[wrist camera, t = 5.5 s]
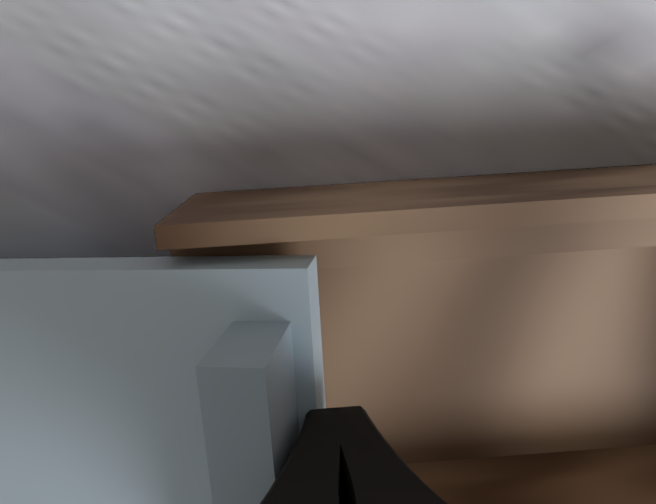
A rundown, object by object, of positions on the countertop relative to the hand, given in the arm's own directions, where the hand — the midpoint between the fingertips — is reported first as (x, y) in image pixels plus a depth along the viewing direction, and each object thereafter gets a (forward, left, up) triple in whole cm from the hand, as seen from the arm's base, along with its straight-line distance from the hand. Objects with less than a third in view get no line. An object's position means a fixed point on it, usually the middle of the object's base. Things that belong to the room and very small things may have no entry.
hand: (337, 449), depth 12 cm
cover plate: (0, +7, -2) cm, 8 cm away
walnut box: (0, -5, -5) cm, 7 cm away
